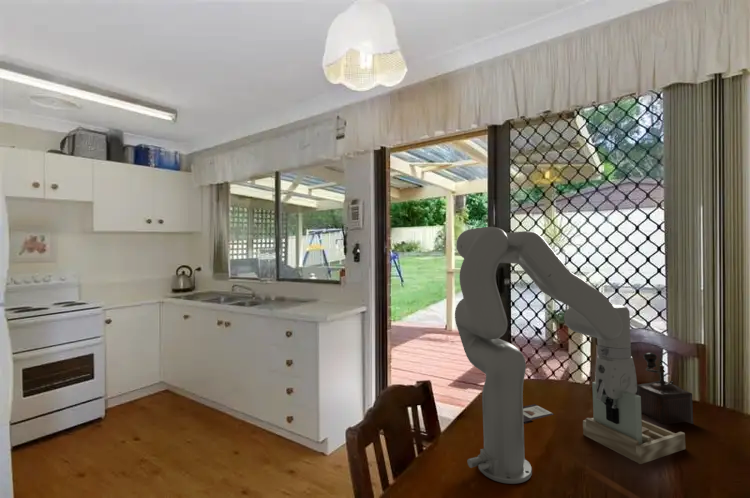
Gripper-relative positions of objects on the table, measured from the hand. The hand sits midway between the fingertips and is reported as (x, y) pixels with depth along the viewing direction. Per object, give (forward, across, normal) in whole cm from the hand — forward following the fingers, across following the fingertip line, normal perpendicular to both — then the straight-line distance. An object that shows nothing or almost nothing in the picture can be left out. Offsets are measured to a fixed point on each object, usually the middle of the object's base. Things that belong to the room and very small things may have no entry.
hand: (616, 420), depth 100 cm
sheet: (+7, 0, 0) cm, 7 cm away
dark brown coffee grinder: (+8, +30, +9) cm, 33 cm away
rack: (+8, +6, 0) cm, 10 cm away
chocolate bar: (+9, -8, +26) cm, 29 cm away
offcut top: (+4, +5, 0) cm, 7 cm away
